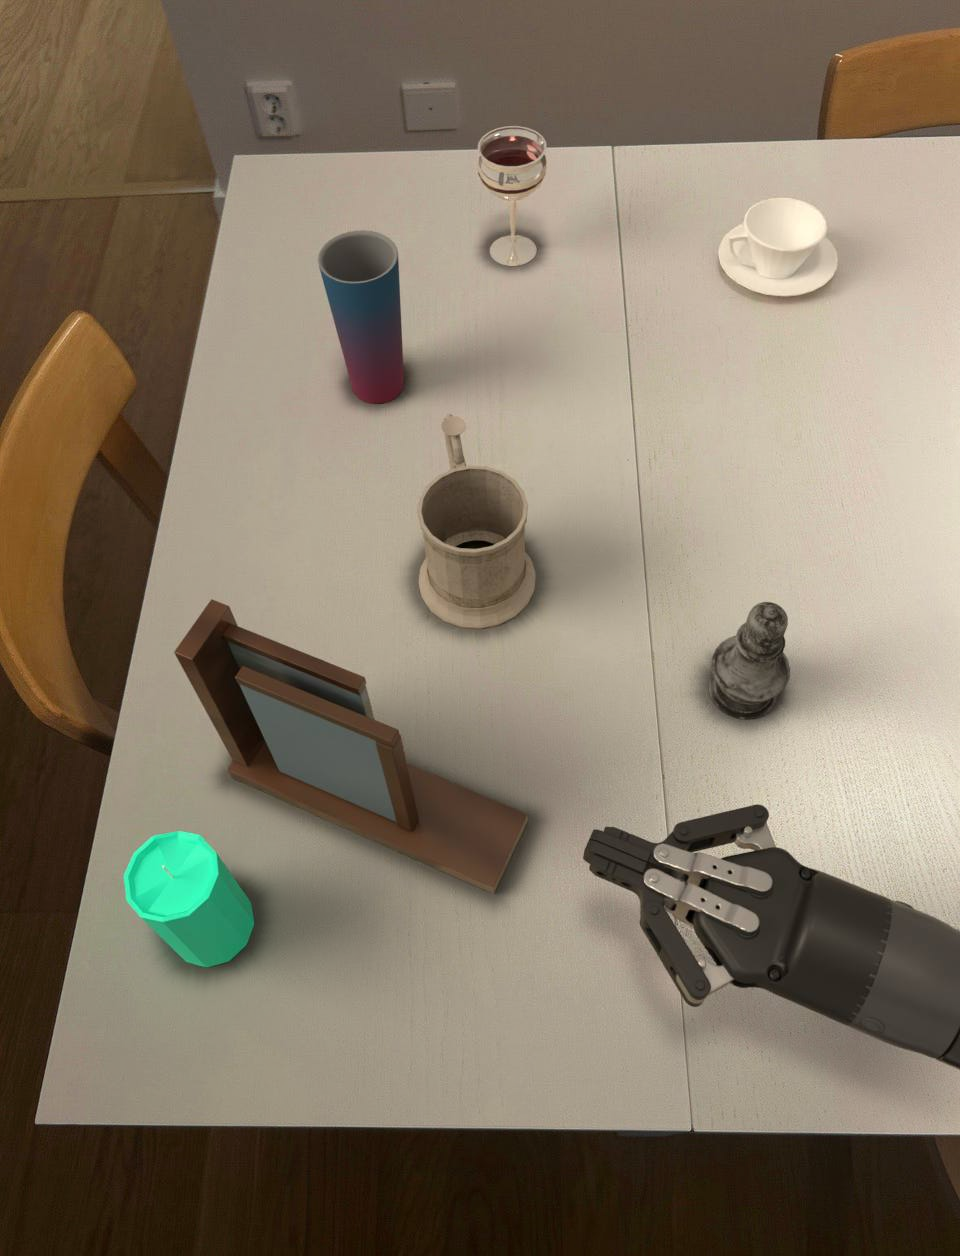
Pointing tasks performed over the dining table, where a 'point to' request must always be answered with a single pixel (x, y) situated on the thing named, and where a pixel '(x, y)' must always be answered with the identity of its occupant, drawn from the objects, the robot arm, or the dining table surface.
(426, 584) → the mug
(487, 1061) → the dining table surface
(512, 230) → the wineglass
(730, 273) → the teacup
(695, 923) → the robot arm
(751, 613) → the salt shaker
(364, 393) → the cup
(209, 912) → the candle
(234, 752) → the screen frame
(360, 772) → the glass door
